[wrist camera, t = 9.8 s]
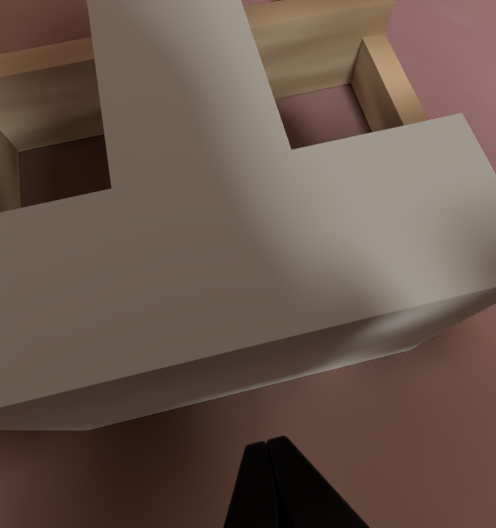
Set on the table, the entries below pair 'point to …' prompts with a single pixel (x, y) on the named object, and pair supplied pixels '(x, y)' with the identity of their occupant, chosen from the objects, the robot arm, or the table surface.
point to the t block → (229, 236)
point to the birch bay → (272, 56)
